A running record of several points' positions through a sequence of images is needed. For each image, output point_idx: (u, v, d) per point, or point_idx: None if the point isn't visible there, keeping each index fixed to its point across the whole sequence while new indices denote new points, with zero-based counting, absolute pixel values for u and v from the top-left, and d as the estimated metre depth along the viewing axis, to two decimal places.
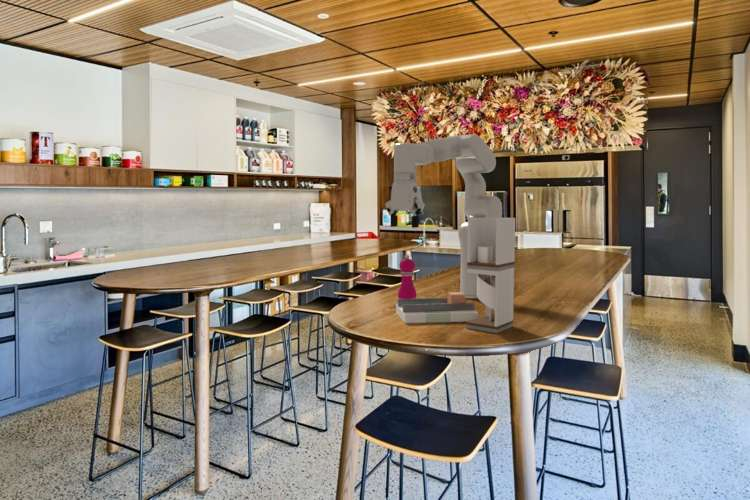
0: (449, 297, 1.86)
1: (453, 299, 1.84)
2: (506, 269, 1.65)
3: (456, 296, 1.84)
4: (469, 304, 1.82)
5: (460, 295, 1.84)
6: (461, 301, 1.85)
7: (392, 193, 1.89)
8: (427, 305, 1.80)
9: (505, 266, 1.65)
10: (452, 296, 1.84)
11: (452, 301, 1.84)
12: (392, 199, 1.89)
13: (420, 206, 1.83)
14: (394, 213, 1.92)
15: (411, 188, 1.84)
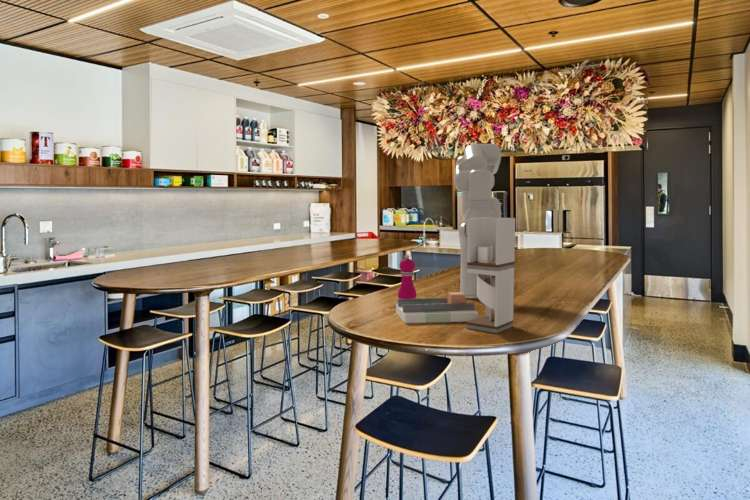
0: (449, 297, 1.86)
1: (453, 299, 1.84)
2: (506, 269, 1.65)
3: (456, 296, 1.84)
4: (469, 304, 1.82)
5: (460, 295, 1.84)
6: (461, 301, 1.85)
7: None
8: (427, 305, 1.80)
9: (505, 266, 1.65)
10: (452, 296, 1.84)
11: (452, 301, 1.84)
12: None
13: None
14: None
15: (493, 215, 1.84)
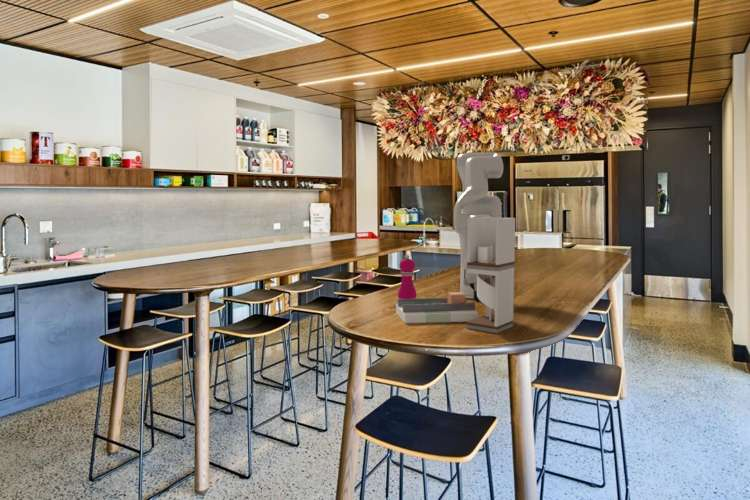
0: (449, 297, 1.86)
1: (453, 299, 1.84)
2: (506, 269, 1.65)
3: (456, 296, 1.84)
4: (469, 304, 1.82)
5: (460, 295, 1.84)
6: (461, 301, 1.85)
7: None
8: (427, 305, 1.80)
9: (505, 266, 1.65)
10: (452, 296, 1.84)
11: (452, 301, 1.84)
12: None
13: None
14: None
15: None
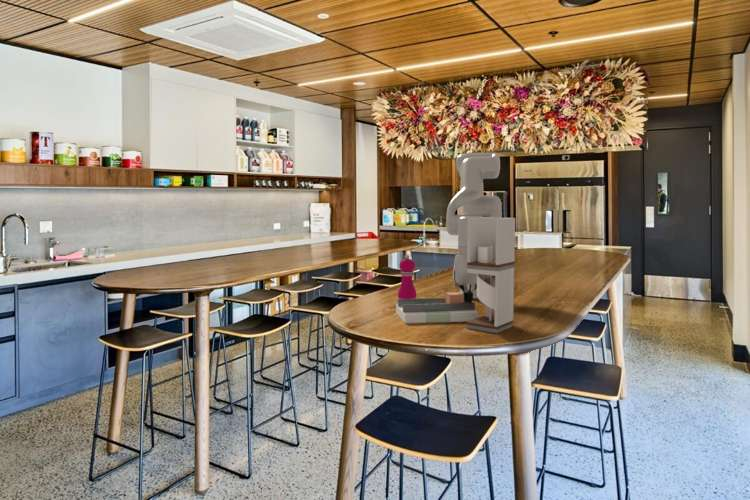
0: (447, 297, 1.86)
1: (451, 299, 1.84)
2: (506, 269, 1.65)
3: (454, 296, 1.84)
4: (469, 304, 1.82)
5: (458, 295, 1.84)
6: (459, 301, 1.84)
7: (460, 267, 1.84)
8: (427, 305, 1.80)
9: (505, 266, 1.65)
10: (450, 296, 1.84)
11: (450, 301, 1.84)
12: (460, 273, 1.84)
13: None
14: None
15: None
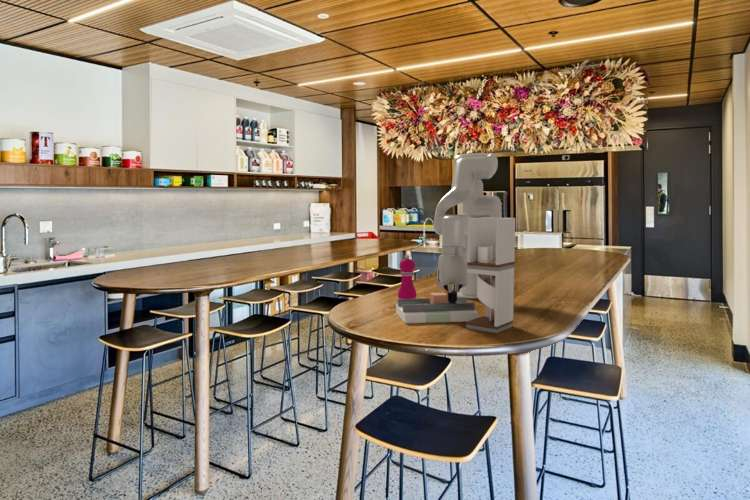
0: (431, 298, 1.85)
1: (435, 300, 1.83)
2: (506, 269, 1.65)
3: (438, 297, 1.83)
4: (469, 304, 1.82)
5: (442, 296, 1.83)
6: (443, 302, 1.83)
7: (443, 267, 1.83)
8: (427, 305, 1.80)
9: (505, 266, 1.65)
10: (434, 297, 1.83)
11: (434, 302, 1.83)
12: (443, 273, 1.83)
13: (463, 284, 1.86)
14: None
15: (466, 261, 1.84)
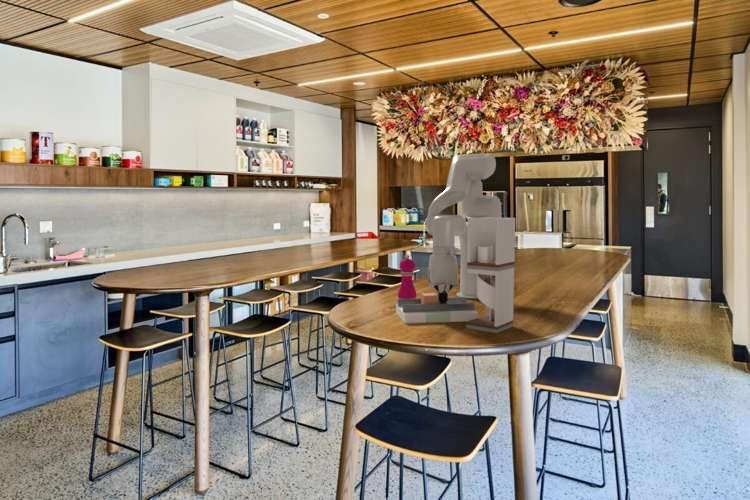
0: (422, 298, 1.85)
1: (426, 300, 1.83)
2: (506, 269, 1.65)
3: (429, 297, 1.83)
4: (469, 304, 1.82)
5: (433, 296, 1.83)
6: (434, 302, 1.83)
7: (434, 267, 1.82)
8: (427, 305, 1.80)
9: (505, 266, 1.65)
10: (425, 297, 1.82)
11: (425, 302, 1.83)
12: (434, 273, 1.83)
13: (454, 285, 1.86)
14: None
15: (456, 262, 1.84)
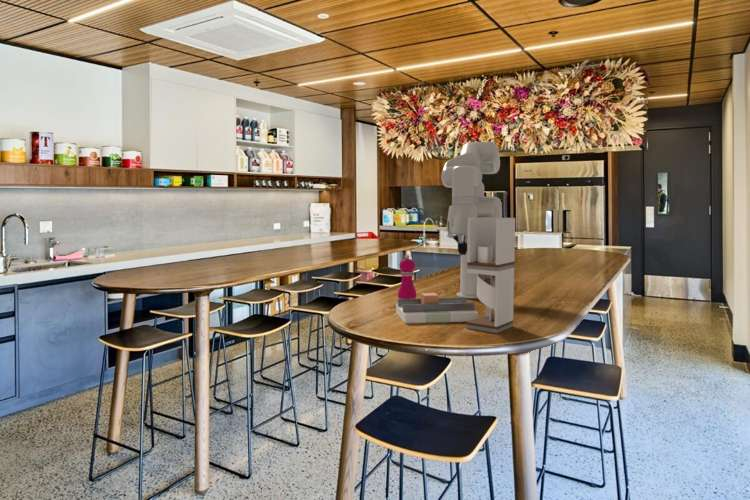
0: (422, 298, 1.85)
1: (426, 300, 1.83)
2: (506, 269, 1.65)
3: (429, 297, 1.83)
4: (469, 304, 1.82)
5: (433, 296, 1.83)
6: (434, 302, 1.83)
7: (454, 217, 1.82)
8: (427, 305, 1.80)
9: (505, 266, 1.65)
10: (425, 297, 1.82)
11: (425, 302, 1.83)
12: (454, 223, 1.82)
13: None
14: None
15: (476, 212, 1.83)
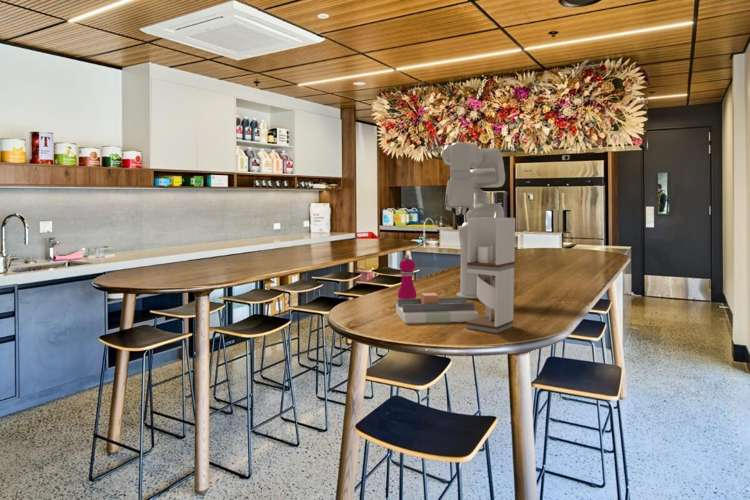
0: (422, 298, 1.85)
1: (426, 300, 1.83)
2: (506, 269, 1.65)
3: (429, 297, 1.83)
4: (469, 304, 1.82)
5: (433, 296, 1.83)
6: (434, 302, 1.83)
7: (451, 190, 1.95)
8: (427, 305, 1.80)
9: (505, 266, 1.65)
10: (425, 297, 1.82)
11: (425, 302, 1.83)
12: (451, 196, 1.95)
13: (470, 208, 1.98)
14: None
15: (472, 185, 1.97)
